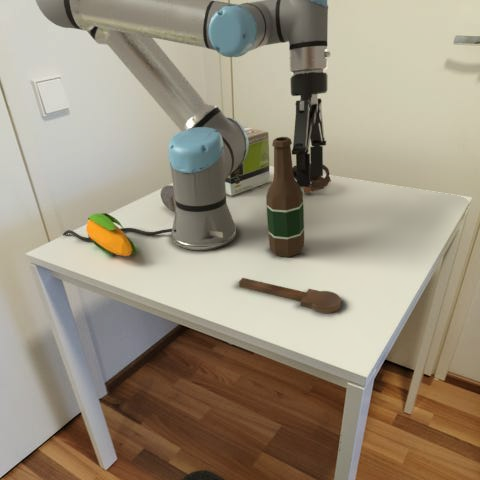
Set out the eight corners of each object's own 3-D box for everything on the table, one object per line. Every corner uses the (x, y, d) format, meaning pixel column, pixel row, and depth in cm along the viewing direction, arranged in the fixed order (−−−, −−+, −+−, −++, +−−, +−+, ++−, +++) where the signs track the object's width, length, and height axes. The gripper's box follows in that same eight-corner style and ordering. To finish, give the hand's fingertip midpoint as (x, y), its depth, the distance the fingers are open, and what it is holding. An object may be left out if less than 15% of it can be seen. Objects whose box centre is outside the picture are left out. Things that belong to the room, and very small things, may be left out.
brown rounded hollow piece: (332, 185, 133) (337, 165, 125) (319, 209, 130) (324, 190, 122) (295, 170, 135) (298, 150, 127) (281, 193, 132) (283, 174, 124)
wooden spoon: (234, 291, 89) (234, 286, 88) (247, 277, 92) (247, 272, 92) (334, 316, 81) (335, 310, 80) (344, 300, 85) (344, 294, 84)
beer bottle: (262, 251, 101) (253, 141, 87) (285, 237, 105) (279, 130, 91) (289, 261, 97) (283, 147, 82) (311, 246, 101) (310, 135, 86)
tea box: (248, 175, 141) (247, 125, 132) (270, 183, 135) (270, 131, 126) (210, 188, 134) (205, 136, 125) (231, 197, 128) (228, 143, 119)
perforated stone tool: (156, 206, 125) (152, 181, 120) (172, 201, 127) (169, 176, 123) (185, 223, 115) (182, 197, 111) (202, 217, 117) (199, 191, 113)
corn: (103, 201, 108) (142, 228, 95) (112, 230, 113) (150, 259, 100) (74, 212, 105) (110, 241, 92) (84, 241, 110) (120, 272, 97)
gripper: (314, 68, 80) (315, 191, 89) (337, 72, 100) (336, 171, 110) (273, 73, 82) (279, 192, 91) (304, 76, 103) (306, 172, 112)
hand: (310, 181), depth 100 cm, fingers open, 13 cm apart
